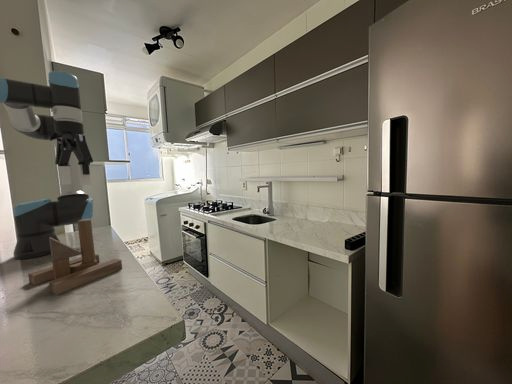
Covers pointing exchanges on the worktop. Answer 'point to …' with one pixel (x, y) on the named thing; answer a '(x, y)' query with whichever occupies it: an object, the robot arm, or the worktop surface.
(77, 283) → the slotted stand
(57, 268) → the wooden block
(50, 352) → the worktop surface
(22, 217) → the robot arm
